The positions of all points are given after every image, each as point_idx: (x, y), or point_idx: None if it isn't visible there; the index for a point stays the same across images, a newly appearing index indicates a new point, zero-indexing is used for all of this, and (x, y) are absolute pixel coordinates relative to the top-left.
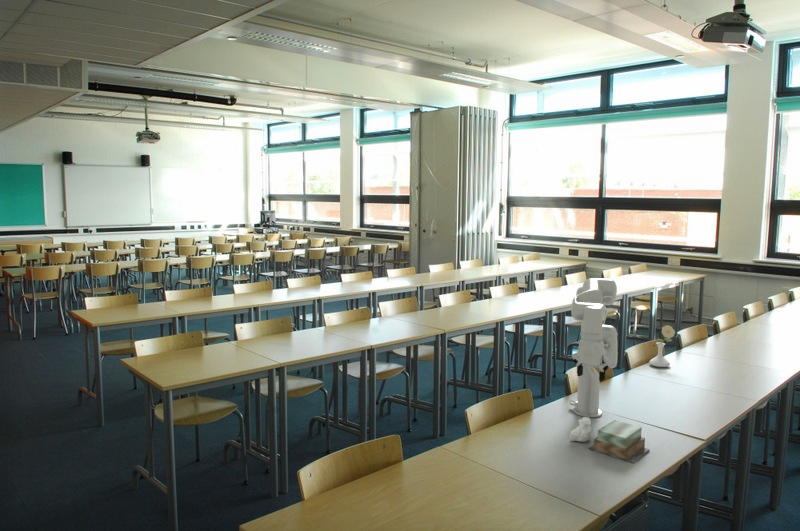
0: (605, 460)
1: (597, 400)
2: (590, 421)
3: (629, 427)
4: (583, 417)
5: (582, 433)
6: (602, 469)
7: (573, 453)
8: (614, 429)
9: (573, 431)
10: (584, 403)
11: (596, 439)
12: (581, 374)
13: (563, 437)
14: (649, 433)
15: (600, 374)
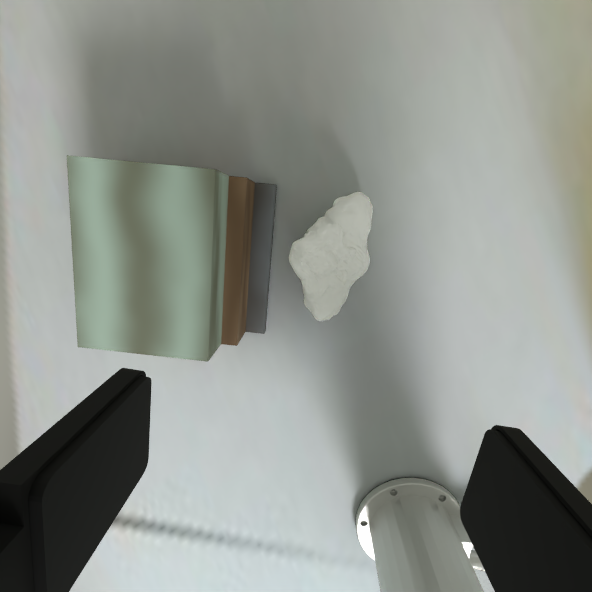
0: (184, 121)
1: (380, 574)
2: (291, 260)
3: (116, 310)
4: (332, 265)
5: (318, 222)
6: (157, 23)
7: (309, 99)
8: (156, 237)
9: (355, 198)
10: (425, 532)
11: (235, 180)
12: (474, 497)
13: (403, 235)
14: (164, 461)
15: (50, 432)
